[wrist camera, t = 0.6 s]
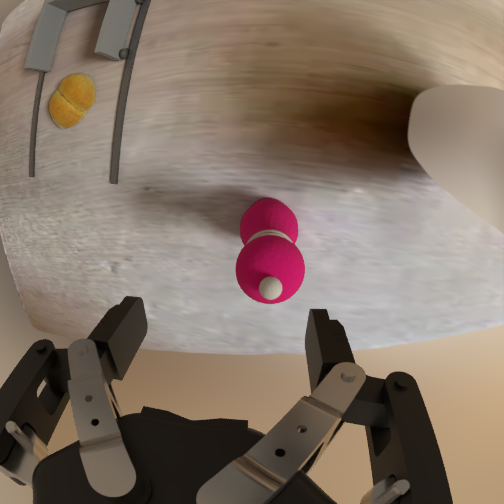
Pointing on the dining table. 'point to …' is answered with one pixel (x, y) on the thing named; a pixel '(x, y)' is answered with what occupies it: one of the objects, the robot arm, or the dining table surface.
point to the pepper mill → (269, 253)
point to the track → (120, 107)
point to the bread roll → (72, 100)
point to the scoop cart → (52, 21)
